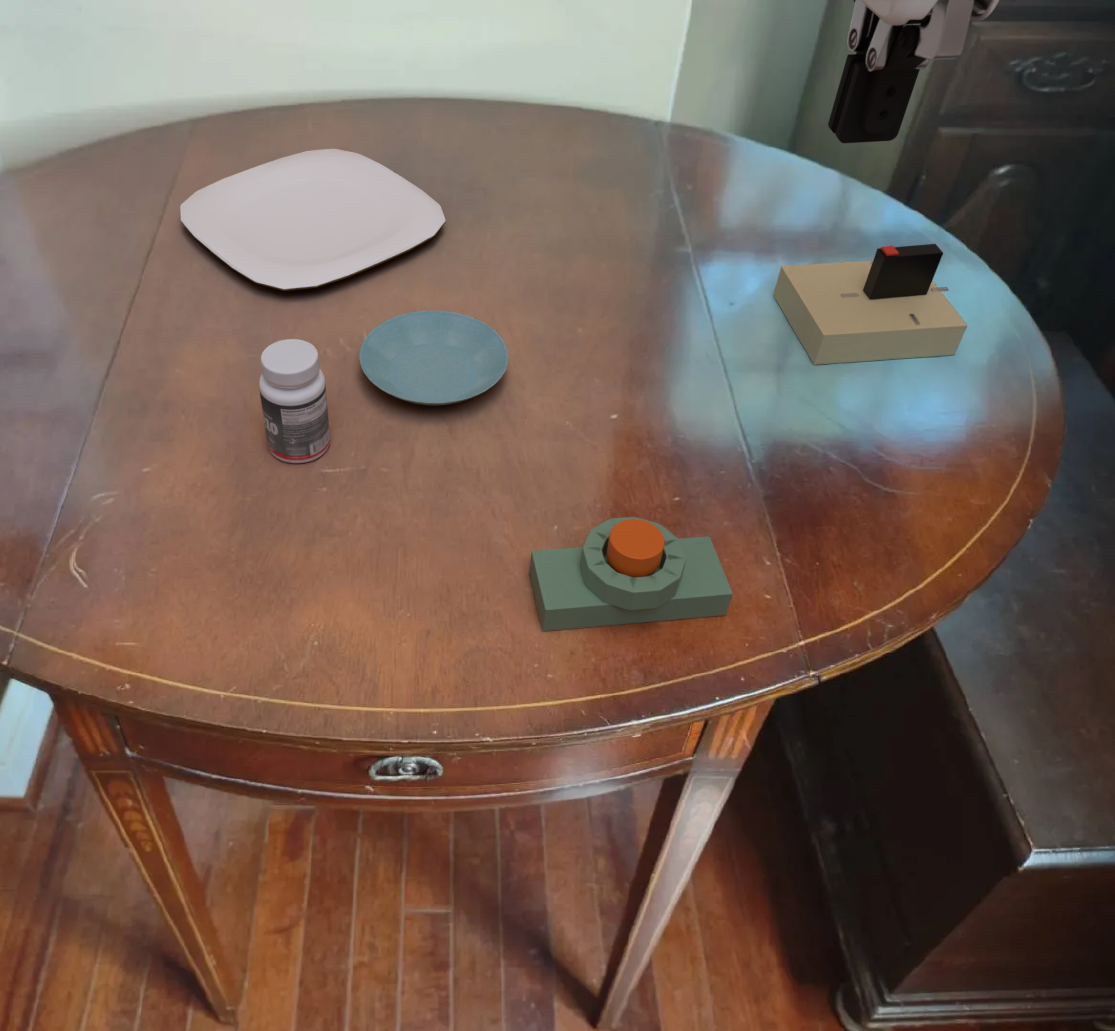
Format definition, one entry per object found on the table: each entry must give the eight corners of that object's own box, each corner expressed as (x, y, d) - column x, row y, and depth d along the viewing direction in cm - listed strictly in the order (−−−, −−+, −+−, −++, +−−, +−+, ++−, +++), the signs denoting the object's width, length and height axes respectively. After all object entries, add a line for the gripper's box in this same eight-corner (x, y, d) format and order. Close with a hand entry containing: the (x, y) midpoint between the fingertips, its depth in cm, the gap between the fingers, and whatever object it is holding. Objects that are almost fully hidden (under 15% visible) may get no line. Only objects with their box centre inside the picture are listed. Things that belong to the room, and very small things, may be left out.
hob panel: (910, 286, 93) (922, 255, 91) (961, 354, 86) (975, 323, 84) (772, 295, 92) (781, 264, 90) (813, 365, 86) (824, 333, 83)
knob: (919, 285, 88) (936, 240, 85) (926, 294, 87) (944, 250, 84) (862, 290, 88) (878, 245, 85) (869, 299, 87) (885, 255, 84)
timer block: (701, 550, 71) (712, 509, 69) (729, 623, 67) (742, 582, 64) (527, 565, 71) (531, 524, 68) (544, 639, 66) (549, 599, 63)
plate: (157, 217, 102) (153, 201, 101) (339, 150, 111) (338, 135, 110) (279, 320, 90) (277, 303, 89) (472, 235, 99) (472, 219, 98)
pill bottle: (263, 429, 80) (250, 340, 74) (324, 418, 81) (316, 330, 75) (272, 470, 77) (259, 381, 71) (336, 459, 78) (328, 370, 72)
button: (652, 535, 68) (657, 516, 66) (666, 575, 65) (671, 556, 64) (601, 539, 67) (604, 520, 66) (613, 579, 65) (616, 561, 64)
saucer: (533, 363, 86) (535, 341, 84) (455, 444, 79) (455, 421, 77) (415, 316, 90) (414, 294, 89) (331, 388, 84) (329, 366, 82)
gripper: (835, -325, 47) (747, 78, 61) (994, -257, 37) (846, 212, 50) (994, -329, 48) (872, 72, 61) (1194, -262, 38) (995, 203, 51)
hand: (861, 134), depth 56 cm, fingers closed
